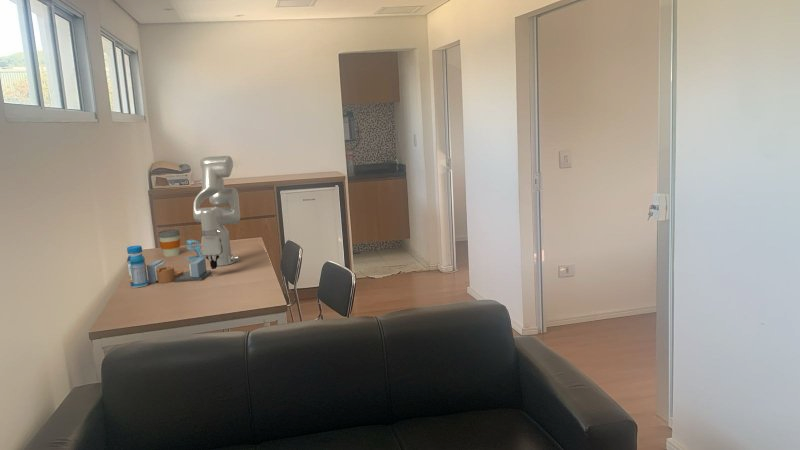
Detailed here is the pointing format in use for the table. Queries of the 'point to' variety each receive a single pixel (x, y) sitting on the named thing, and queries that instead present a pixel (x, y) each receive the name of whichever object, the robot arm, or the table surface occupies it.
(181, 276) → the plate
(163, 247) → the reusable coffee cup
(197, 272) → the block
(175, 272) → the bracket
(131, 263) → the beverage bottle
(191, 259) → the small desk lamp
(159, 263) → the block
